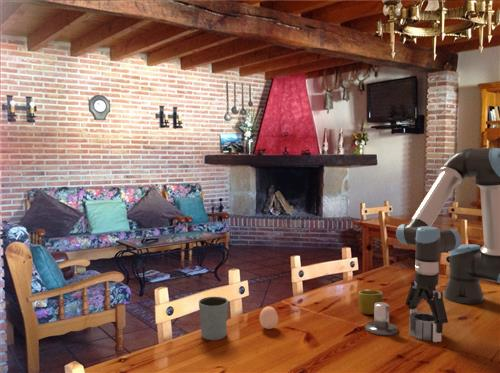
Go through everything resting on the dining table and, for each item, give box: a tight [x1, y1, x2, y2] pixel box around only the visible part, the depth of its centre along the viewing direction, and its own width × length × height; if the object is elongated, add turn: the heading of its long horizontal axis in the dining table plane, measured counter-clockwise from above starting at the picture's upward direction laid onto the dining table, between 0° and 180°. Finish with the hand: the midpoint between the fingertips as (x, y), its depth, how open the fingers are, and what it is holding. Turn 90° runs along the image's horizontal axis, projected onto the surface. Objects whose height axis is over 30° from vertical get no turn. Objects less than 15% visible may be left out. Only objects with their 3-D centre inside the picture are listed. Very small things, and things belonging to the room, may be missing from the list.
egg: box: [259, 306, 279, 330], centre depth 160 cm, size 7×7×8 cm
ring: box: [408, 311, 435, 342], centre depth 155 cm, size 10×10×6 cm
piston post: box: [365, 302, 399, 337], centre depth 159 cm, size 11×11×9 cm
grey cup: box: [198, 296, 229, 341], centre depth 155 cm, size 10×10×12 cm
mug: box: [357, 288, 384, 316], centre depth 177 cm, size 12×10×10 cm
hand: (424, 334), depth 155 cm, fingers open, 12 cm apart
